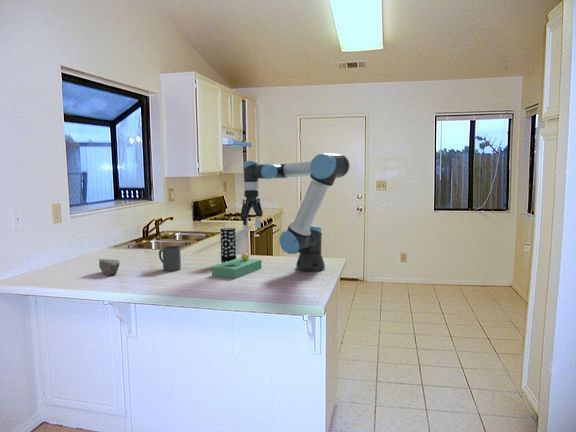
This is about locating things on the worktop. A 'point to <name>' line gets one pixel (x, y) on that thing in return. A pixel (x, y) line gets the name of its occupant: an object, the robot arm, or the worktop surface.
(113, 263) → the stone
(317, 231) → the robot arm
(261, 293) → the worktop surface
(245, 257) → the ball
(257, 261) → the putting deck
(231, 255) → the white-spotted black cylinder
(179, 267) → the mug
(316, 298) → the worktop surface
